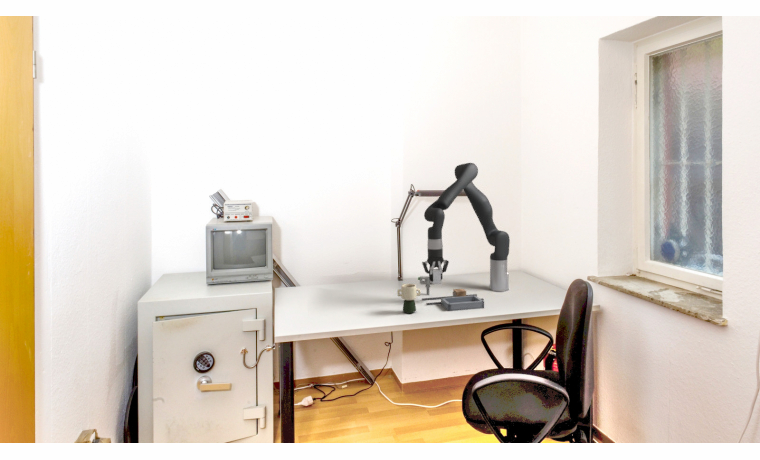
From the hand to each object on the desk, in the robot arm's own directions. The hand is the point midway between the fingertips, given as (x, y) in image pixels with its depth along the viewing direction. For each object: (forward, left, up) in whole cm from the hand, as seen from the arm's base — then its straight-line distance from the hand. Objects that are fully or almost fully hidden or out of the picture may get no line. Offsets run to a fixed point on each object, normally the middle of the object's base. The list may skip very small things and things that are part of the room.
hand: (435, 280), depth 214 cm
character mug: (+17, +12, -11) cm, 24 cm away
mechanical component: (0, -14, -11) cm, 18 cm away
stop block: (0, 0, -1) cm, 1 cm away
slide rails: (-9, 0, -11) cm, 14 cm away
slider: (-13, 0, -11) cm, 17 cm away
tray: (-10, +11, -11) cm, 18 cm away
